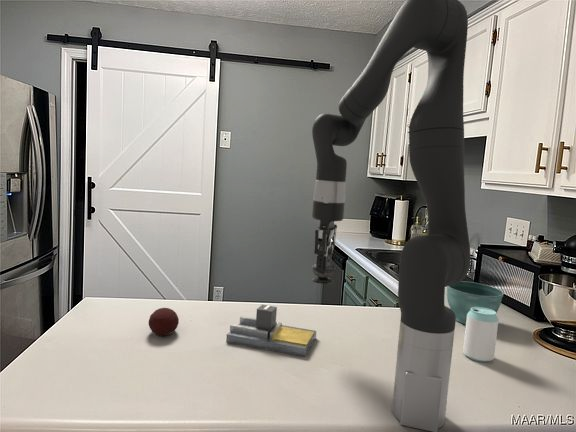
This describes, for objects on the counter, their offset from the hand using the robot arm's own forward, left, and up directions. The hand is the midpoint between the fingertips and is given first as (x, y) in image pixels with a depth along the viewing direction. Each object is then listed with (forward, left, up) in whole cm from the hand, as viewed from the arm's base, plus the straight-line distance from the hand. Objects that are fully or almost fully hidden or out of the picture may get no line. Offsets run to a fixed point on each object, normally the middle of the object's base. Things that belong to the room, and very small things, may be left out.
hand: (323, 268), depth 101 cm
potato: (-8, +39, -20) cm, 44 cm away
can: (+11, -38, -20) cm, 45 cm away
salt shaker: (0, 0, -3) cm, 3 cm away
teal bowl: (+39, -40, -20) cm, 60 cm away
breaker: (-1, +14, -18) cm, 22 cm away
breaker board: (-1, +12, -20) cm, 23 cm away
